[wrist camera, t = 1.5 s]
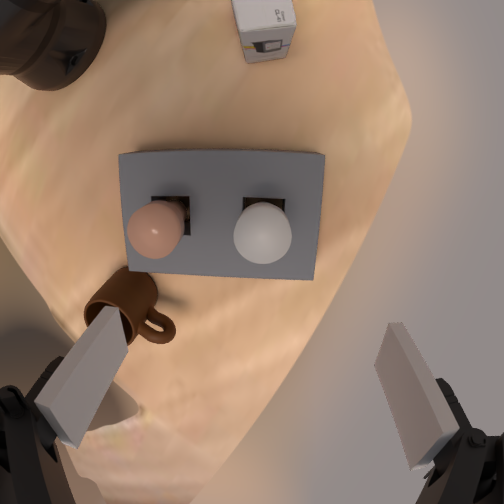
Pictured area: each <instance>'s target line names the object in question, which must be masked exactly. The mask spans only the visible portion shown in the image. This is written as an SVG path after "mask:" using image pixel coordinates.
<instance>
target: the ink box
mask: <svg viewBox="0 0 504 504" xmlns="http://www.w3.org/2000/svg"><path fill="white" fill-rule="evenodd" d="M231 3H232V8H233V13H234V17H235V21H236V26H237V30H238V33H239V37H240V41H241V45H242V48H243V52H244V56H245V60H246V63H256V62H262V61H268V60H274V59H280V58H285V57H286V55H287V52H288V49H289V46H290V43H291V40H292V37H293V34H294V31H295V29H296V25H297V24H296V15H295V12H294V9H293V3H292V0H231Z"/></svg>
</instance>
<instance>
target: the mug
mask: <svg viewBox="0 0 504 504" xmlns="http://www.w3.org/2000/svg"><path fill="white" fill-rule="evenodd" d="M156 301H157V289H156V286H155V284H154V282H153V281H152V279H151V278H150V277H149V276H148V275H147V274H146V273H145V272H137V271H129V267H126V268H122V269H120V270H118V271H117V272H116V273H114V274H113V275H112V276H111V277H110V279H109V280H107V281H106V282H105V284H104V285H103V286H102V287H101V288H100V289H99V290H98V291H97V292H96V293H95V294H94V295H93V296H92V298H91V299H90V301H89V302H88V303H87V305H86V306H85V309H84V320H85V323H86V325H87V327H89V325H90V324H91V323H92V322H93V320H94V319H95V318H96V317H97V315H98V314H99V313H100V312H101V310H102V309H103V308H104V307H105V306H110V307H117V308H119V313H120V317H121V322H122V326H123V331H124V335H125V339H126V343H127V346H128V345H130V344H131V343H132V342H133V341H134V339H135V338H136V336H137V335H138V334H140V335H141V336H143V337H144V338H145V339H147V340H148V341H150V342H152V343H156V344H165V343H168V342H170V341H171V340H173V338H174V336H175V334H176V328H175V325H174V323H173V321H172V320H171V319H170V318H169V317H167V316H166V315H164V314H161V313H159V312H158V311H157V310H155V309H154V306H155V304H156ZM146 320H148V321H150V322H151V323H153V324H155V325H158V326H160V327H162V328H163V330H164V331H163V332H160V331H156V330H154V329H153V328H151V327H150V326H149V325H147V324H146V323H145V322H146Z"/></svg>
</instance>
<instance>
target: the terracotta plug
mask: <svg viewBox="0 0 504 504" xmlns="http://www.w3.org/2000/svg"><path fill="white" fill-rule="evenodd" d="M186 217H187V209H186V206H185V205H184V204H183V203H182V202H181V201H179V200H175V199H173V200H169V201H167V202H166V201H160V200H157V201H152V202H150V203H148V204H146V205H145V206H143V207H141V208H140V209H138V210H137V211H136V212H134V213H133V214H132V216H131V217H130V219H129V222H128V226H127V234H128V238H129V241H130V243H131V245H132V246H133V248H134V249H135V250H136V251H137V252H138V253H139V254H141V255H143V256H144V257H147V258H151V259H159V258H163V257H165V256H167V255H169V254H170V253H171V252H172V251H173V249H174V248H175V247H176V245H177V244H178V243H179V242H180V240H181V239H182V237H183V234H184V227H185V226H184V221H185V219H186Z"/></svg>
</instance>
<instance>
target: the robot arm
mask: <svg viewBox="0 0 504 504" xmlns="http://www.w3.org/2000/svg"><path fill="white" fill-rule="evenodd" d="M105 27H106V19H105V14H104V11H103V9H102V8H101V6H100V5H99V4H98V3H96V2H95V1H93V0H0V75H13V76H14V77H16V78H17V79H19V80H20V81H22V82H23V83H25V84H27V85H28V86H29V87H31V88H33V89H36V90H44V91H54V90H58V89H61V88H64V87H66V86H67V85H69V84H71V83H72V82H73V81H75V80H76V79H77V78H78V77H79V76H80V75H81V74H82V73H83V72H84V71H85V70H86V69H87V68H88V66H89V65H90V64H91V62H92V61H93V59H94V58H95V56H96V54H97V52H98V51H99V48H100V46H101V44H102V41H103V38H104V34H105ZM127 353H128V347H127V343H126V339H125V335H124V331H123V326H122V322H121V317H120V313H119V308H117V307H110V306H105V307H104V308H103V309H102V310H101V312H100V313H99V314H98V315H97V317H96V318H95V319H94V320H93V322H92V323H91V324H90V325H89V327H88V328H87V329H86V330H85V332H84V333H83V334H82V336H81V337H80V338H79V339H78V341H77V342H76V343H75V345H74V346H73V347H72V349H71V350H70V351H69V353H68V354H67V355H66V357H61V356H59V357H57V358H56V359H55V360H53V361H52V362H51V363H50V364H49V365H48V366H47V368H46V369H45V372H43V373H42V374H41V376H40V378H38V380H37V381H36V383H35V384H34V385H33V387H32V388H31V390H30V391H29V393H28V394H27V395H26V397H25V398H24V396H23V395H22V393H21V391H20V390H19V389H18V388H17V387H15V386H12V385H9V386H5V387H2V388H1V389H0V504H76V503H75V501H74V498H73V495H72V493H71V490H70V488H69V484H68V481H67V478H66V475H65V472H64V469H63V466H62V463H61V459H60V456H59V452H58V449H57V445H56V443H55V441H54V440H55V439H56V437H57V436H58V438H59V439H60V440H61V442H62V443H63V444H65V445H68V446H70V447H73V448H75V449H78V447H79V445H80V443H81V441H82V439H83V437H84V435H85V433H86V431H87V429H88V427H89V424H90V422H91V420H92V418H93V417H94V415H95V413H96V411H97V409H98V407H99V405H100V403H101V401H102V399H103V397H104V395H105V393H106V391H107V389H108V387H109V386H110V384H111V382H112V380H113V378H114V376H115V374H116V373H117V371H118V369H119V367H120V365H121V363H122V362H123V360H124V358H125V356H126V354H127ZM374 366H375V369H376V371H377V374H378V377H379V379H380V382H381V385H382V387H383V390H384V393H385V395H386V398H387V401H388V404H389V407H390V409H391V412H392V415H393V418H394V421H395V424H396V427H397V429H398V433H399V436H400V439H401V442H402V445H403V449H404V452H405V455H406V458H407V461H408V465H409V468H410V471H411V470H415V469H419V468H423V467H426V466H427V465H428V464H429V463H430V462H431V461H432V460H433V461H434V463H435V466H434V467H433V468H432V469H431V470H430V471H429V472H428V473H427V474H426V475H425V476H424V479H426V478H427V477H428V476H429V477H428V479H427V481H426V483H425V486H424V488H423V490H422V492H421V494H420V496H419V498H418V500H417V502H416V504H504V433H503V434H502V435H501V436H486V434H485V433H484V432H483V431H482V430H480V429H477V428H472V426H471V424H470V422H469V421H468V419H467V417H466V415H465V413H464V411H463V409H462V407H461V405H460V403H458V399H457V398H456V396H454V392H453V390H452V388H451V387H450V385H449V384H448V383H447V382H446V381H444V380H443V379H442V378H439V379H435V378H434V376H433V375H432V373H431V371H430V369H429V367H428V366H427V364H426V362H425V360H424V358H423V357H422V355H421V353H420V351H419V350H418V348H417V346H416V345H415V343H414V341H413V339H412V338H411V336H410V334H409V333H408V331H407V329H406V328H405V326H404V325H403V323H402V322H401V323H389V324H388V327H387V330H386V333H385V336H384V339H383V342H382V345H381V347H380V350H379V353H378V356H377V359H376V362H375V364H374Z"/></svg>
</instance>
